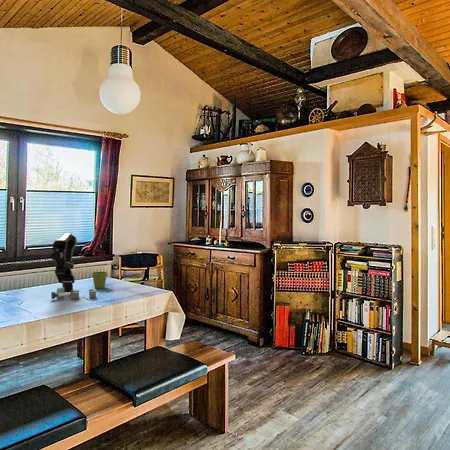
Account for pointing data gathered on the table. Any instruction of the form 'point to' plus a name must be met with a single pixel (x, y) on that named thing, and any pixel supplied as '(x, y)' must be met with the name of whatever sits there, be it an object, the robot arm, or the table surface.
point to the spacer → (60, 291)
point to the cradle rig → (76, 294)
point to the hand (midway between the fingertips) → (60, 281)
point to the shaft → (60, 295)
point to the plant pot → (99, 279)
